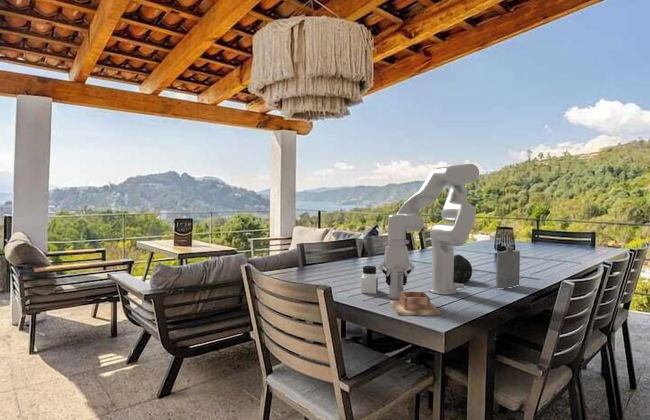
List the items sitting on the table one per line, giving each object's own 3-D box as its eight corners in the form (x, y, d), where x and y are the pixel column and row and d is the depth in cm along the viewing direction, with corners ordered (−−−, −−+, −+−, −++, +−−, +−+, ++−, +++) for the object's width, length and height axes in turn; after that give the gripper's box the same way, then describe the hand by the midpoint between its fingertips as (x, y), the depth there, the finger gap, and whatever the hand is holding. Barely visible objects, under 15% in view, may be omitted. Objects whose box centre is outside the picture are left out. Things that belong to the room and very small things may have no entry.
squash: (454, 266, 210) (445, 247, 203) (480, 271, 199) (472, 252, 191) (443, 286, 204) (433, 267, 196) (469, 292, 192) (460, 273, 185)
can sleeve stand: (428, 303, 157) (428, 289, 156) (440, 315, 141) (441, 300, 140) (389, 303, 156) (390, 289, 156) (397, 315, 140) (398, 300, 140)
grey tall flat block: (514, 284, 190) (515, 244, 189) (522, 286, 187) (523, 245, 186) (494, 288, 182) (495, 247, 181) (502, 290, 178) (503, 248, 178)
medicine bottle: (376, 294, 171) (376, 267, 171) (360, 293, 173) (360, 267, 172) (377, 290, 178) (377, 264, 178) (362, 289, 180) (362, 264, 179)
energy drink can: (394, 295, 168) (394, 262, 167) (406, 298, 164) (406, 263, 163) (386, 298, 163) (386, 264, 163) (398, 301, 159) (398, 265, 159)
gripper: (414, 242, 167) (414, 282, 167) (375, 242, 166) (375, 282, 167) (418, 244, 159) (418, 286, 160) (377, 244, 159) (377, 286, 159)
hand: (396, 284), depth 163 cm, fingers closed on energy drink can, 6 cm apart
